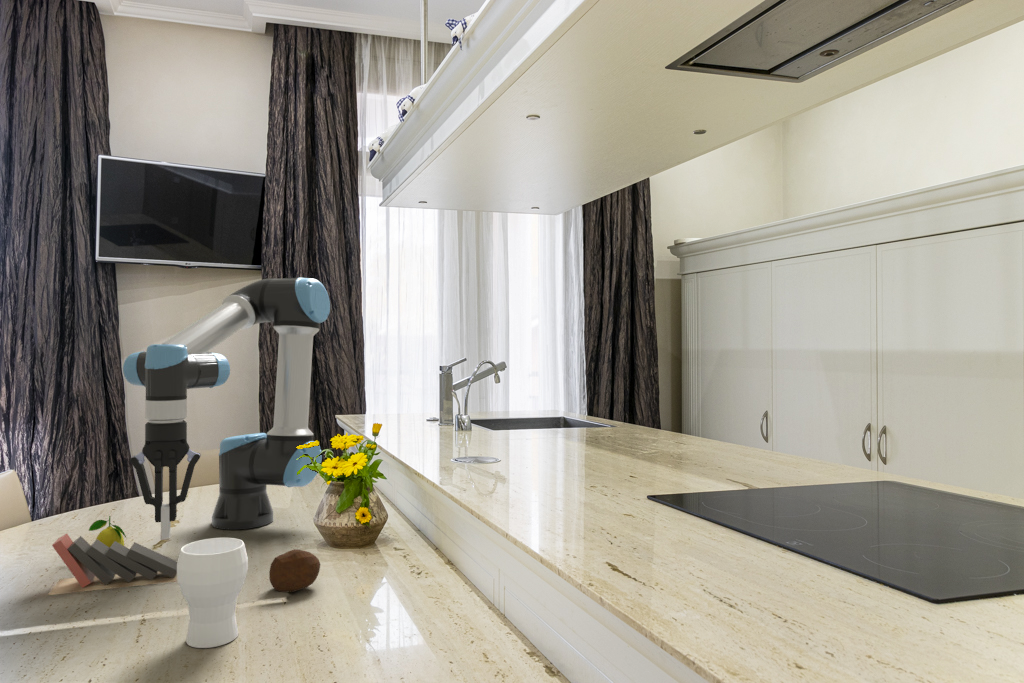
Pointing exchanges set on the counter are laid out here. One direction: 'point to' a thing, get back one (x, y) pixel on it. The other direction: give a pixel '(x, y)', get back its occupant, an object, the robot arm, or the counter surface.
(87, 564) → the domino
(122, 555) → the domino
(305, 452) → the robot arm
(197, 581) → the cup
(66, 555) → the domino
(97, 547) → the domino
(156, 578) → the board
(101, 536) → the lemon
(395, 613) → the counter surface
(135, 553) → the domino
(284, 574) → the potato
